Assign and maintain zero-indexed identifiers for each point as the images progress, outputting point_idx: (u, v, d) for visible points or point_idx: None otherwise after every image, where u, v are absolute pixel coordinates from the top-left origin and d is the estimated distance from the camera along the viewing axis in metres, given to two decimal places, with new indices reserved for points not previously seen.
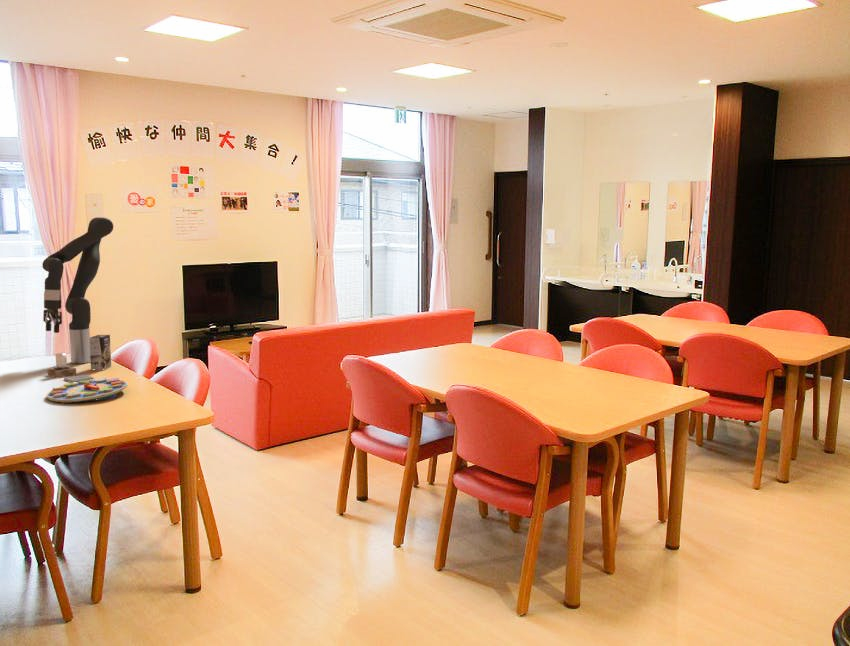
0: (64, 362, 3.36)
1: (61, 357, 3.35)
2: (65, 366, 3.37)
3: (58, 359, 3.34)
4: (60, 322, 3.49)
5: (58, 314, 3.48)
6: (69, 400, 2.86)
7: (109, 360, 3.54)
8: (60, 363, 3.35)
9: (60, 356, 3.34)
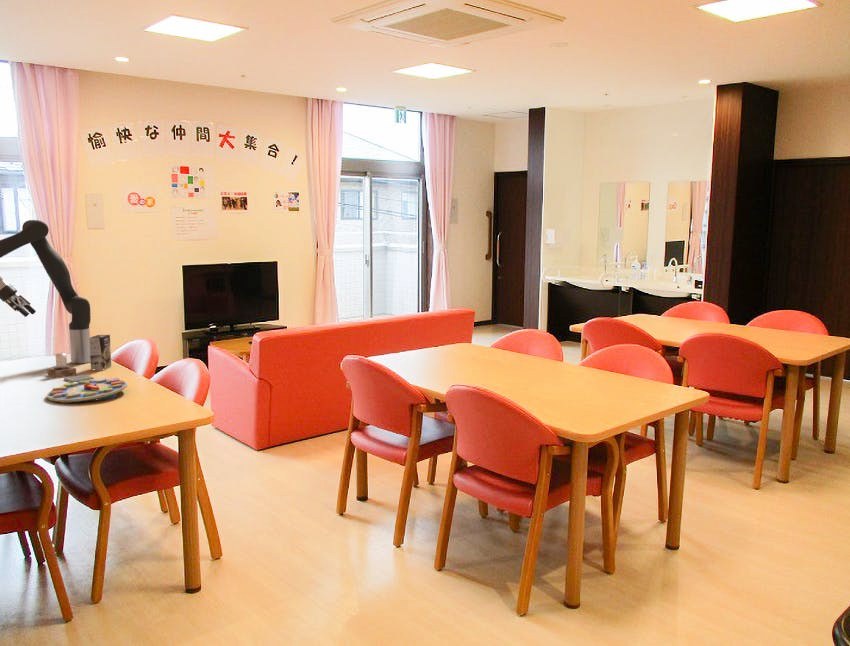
0: (64, 362, 3.36)
1: (61, 357, 3.35)
2: (65, 366, 3.37)
3: (58, 359, 3.34)
4: (16, 307, 3.23)
5: (8, 302, 3.23)
6: (69, 400, 2.86)
7: (109, 360, 3.54)
8: (60, 363, 3.35)
9: (60, 356, 3.34)
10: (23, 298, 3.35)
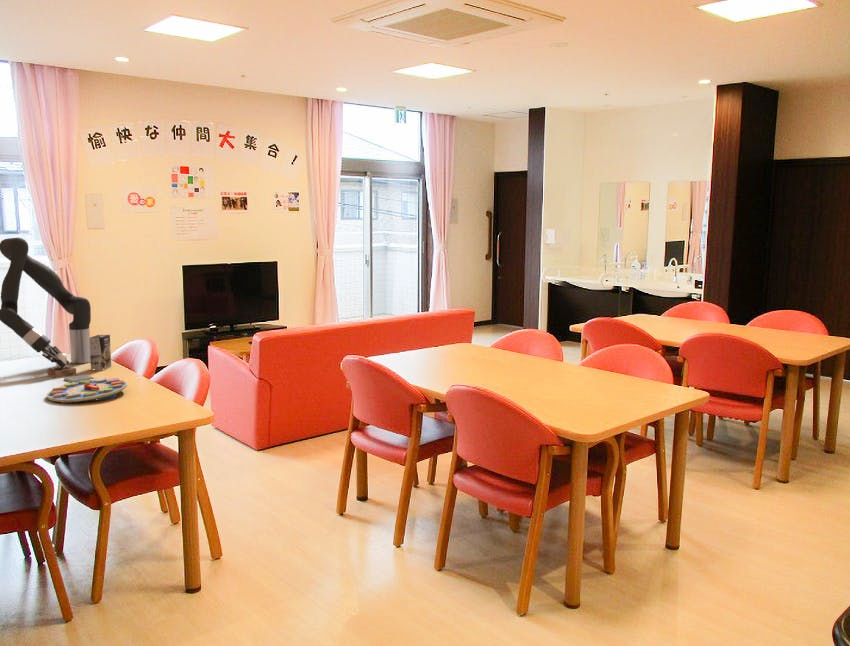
0: (64, 362, 3.36)
1: (61, 357, 3.35)
2: (65, 366, 3.37)
3: None
4: (53, 358, 3.31)
5: (45, 355, 3.29)
6: (69, 400, 2.86)
7: (109, 360, 3.54)
8: None
9: (60, 356, 3.34)
10: (57, 349, 3.41)
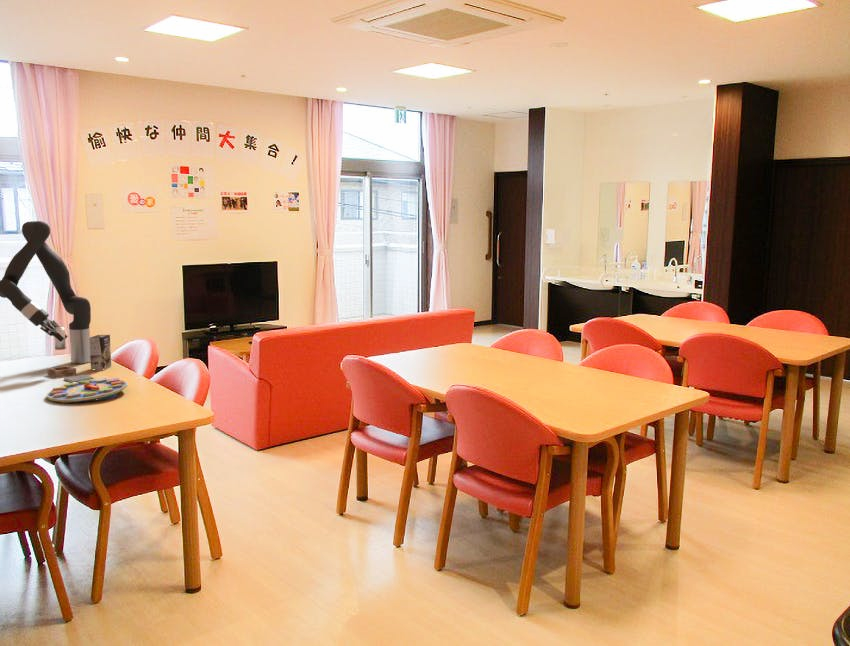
0: (63, 336, 3.34)
1: (60, 330, 3.33)
2: (63, 340, 3.35)
3: None
4: (52, 332, 3.29)
5: (43, 328, 3.27)
6: (69, 400, 2.86)
7: (109, 360, 3.54)
8: None
9: (58, 330, 3.32)
10: (55, 323, 3.39)
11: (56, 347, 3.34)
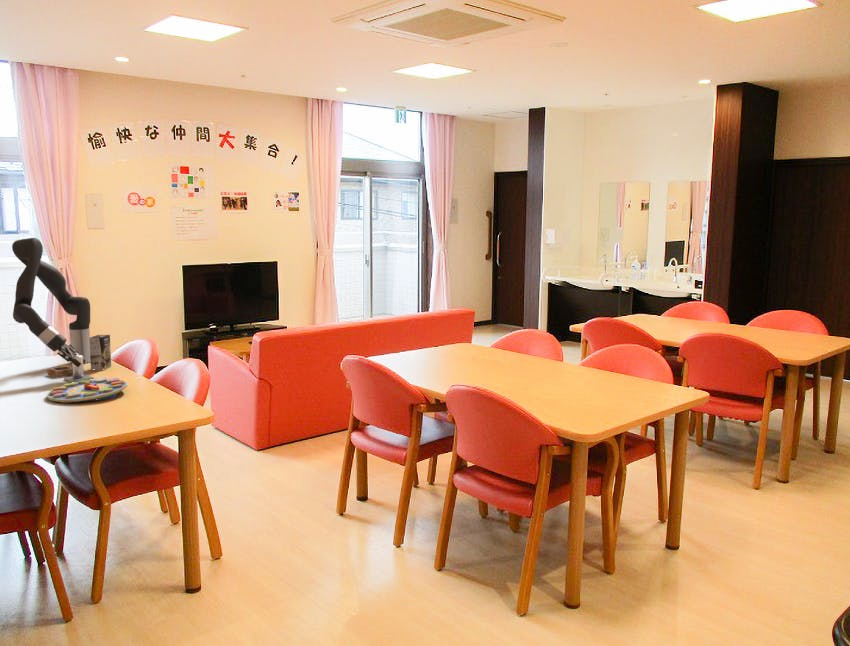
0: (81, 364, 3.26)
1: (78, 359, 3.25)
2: (82, 369, 3.27)
3: None
4: (69, 358, 3.20)
5: (60, 353, 3.19)
6: (69, 400, 2.86)
7: (109, 360, 3.54)
8: None
9: (77, 358, 3.24)
10: (73, 347, 3.31)
11: (74, 376, 3.26)
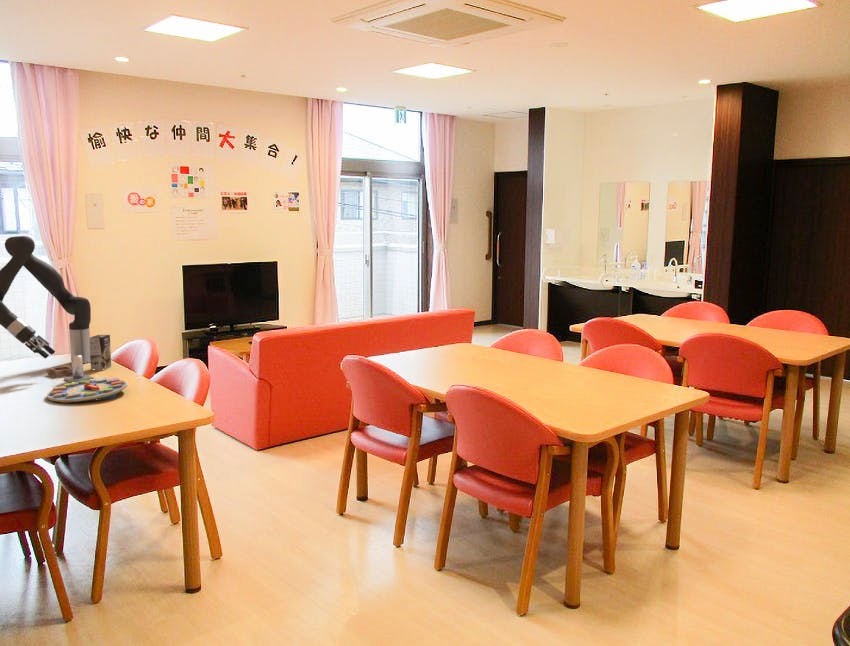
0: (80, 364, 3.26)
1: (77, 359, 3.24)
2: (81, 369, 3.26)
3: (74, 362, 3.24)
4: (36, 349, 3.18)
5: (27, 344, 3.17)
6: (69, 400, 2.86)
7: (109, 360, 3.54)
8: (76, 366, 3.25)
9: (76, 358, 3.24)
10: (42, 338, 3.30)
11: (74, 376, 3.26)
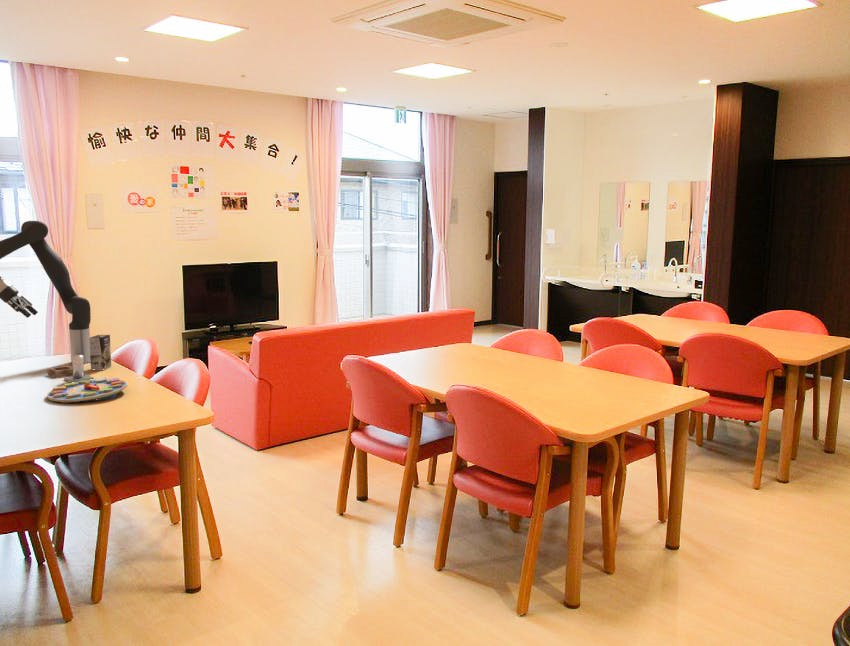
0: (81, 364, 3.26)
1: (78, 359, 3.25)
2: (81, 368, 3.27)
3: (74, 361, 3.25)
4: (18, 308, 3.22)
5: (10, 303, 3.21)
6: (69, 400, 2.86)
7: (109, 360, 3.54)
8: (76, 365, 3.25)
9: (77, 358, 3.25)
10: (25, 299, 3.34)
11: (74, 375, 3.26)
